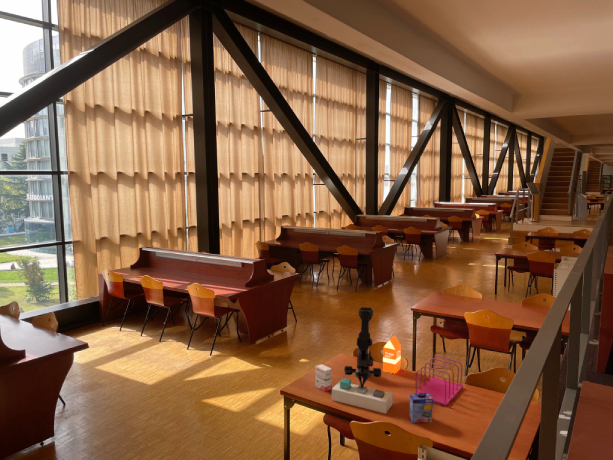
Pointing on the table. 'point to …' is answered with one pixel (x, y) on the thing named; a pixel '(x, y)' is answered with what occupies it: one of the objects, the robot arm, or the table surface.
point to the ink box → (323, 377)
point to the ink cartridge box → (421, 407)
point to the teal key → (345, 384)
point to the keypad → (362, 398)
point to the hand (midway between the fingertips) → (361, 387)
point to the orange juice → (392, 356)
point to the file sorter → (439, 384)
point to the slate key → (361, 390)
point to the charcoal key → (378, 393)
